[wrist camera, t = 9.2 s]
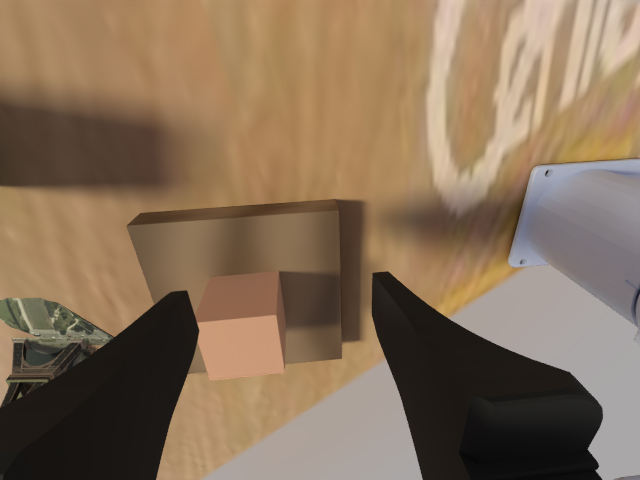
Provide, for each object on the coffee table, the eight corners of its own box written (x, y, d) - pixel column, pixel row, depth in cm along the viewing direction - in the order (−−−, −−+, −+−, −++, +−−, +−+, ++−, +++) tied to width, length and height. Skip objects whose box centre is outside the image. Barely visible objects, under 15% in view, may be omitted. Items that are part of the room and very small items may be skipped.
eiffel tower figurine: (180, 368, 28) (99, 577, 16) (111, 421, 31) (-2, 636, 19) (7, 263, 22) (-310, 470, 11) (-61, 339, 25) (-382, 576, 13)
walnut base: (335, 199, 22) (339, 210, 20) (338, 340, 28) (341, 358, 26) (140, 213, 21) (126, 225, 19) (186, 355, 27) (179, 374, 25)
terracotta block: (278, 271, 22) (276, 314, 18) (285, 322, 24) (285, 372, 20) (210, 277, 21) (191, 323, 17) (223, 329, 23) (210, 380, 19)
